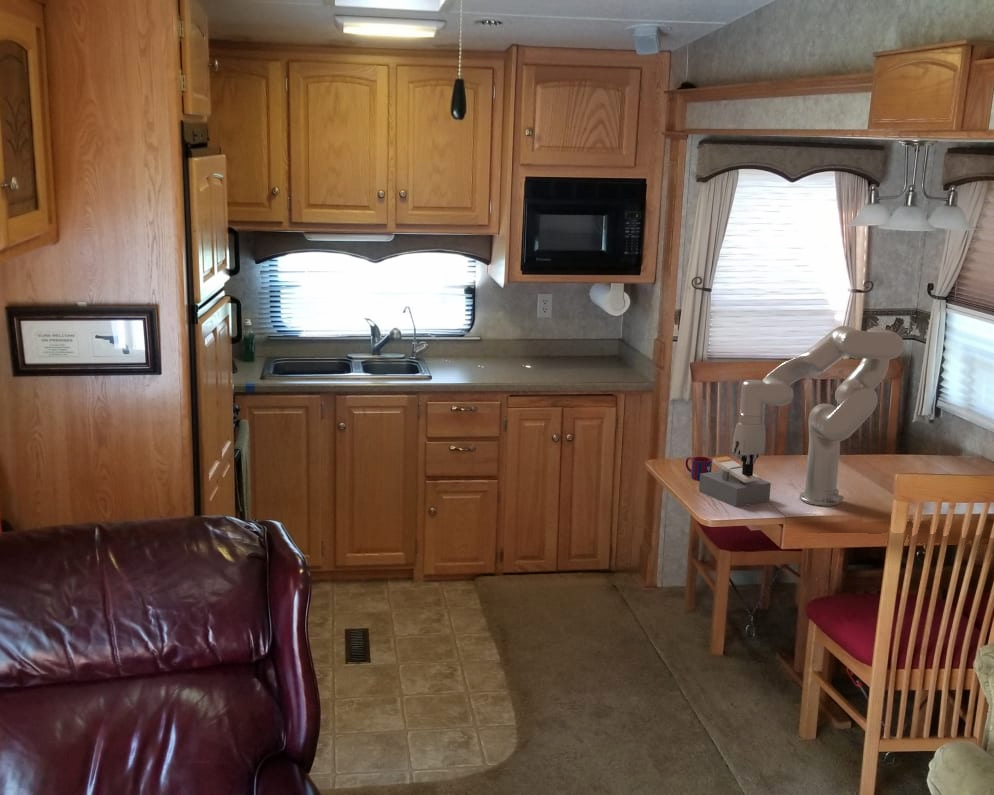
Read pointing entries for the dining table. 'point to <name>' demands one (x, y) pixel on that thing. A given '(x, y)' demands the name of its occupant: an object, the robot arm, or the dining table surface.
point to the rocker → (734, 469)
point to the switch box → (733, 488)
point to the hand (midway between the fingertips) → (747, 474)
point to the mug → (699, 466)
